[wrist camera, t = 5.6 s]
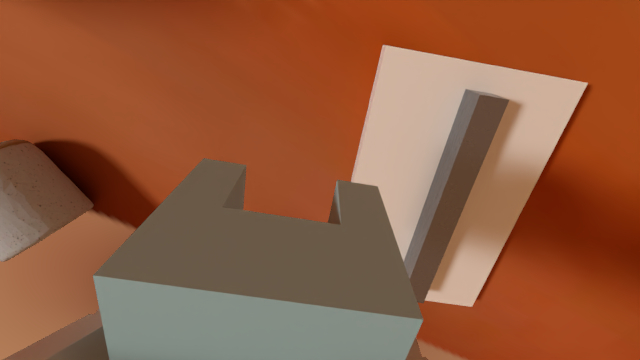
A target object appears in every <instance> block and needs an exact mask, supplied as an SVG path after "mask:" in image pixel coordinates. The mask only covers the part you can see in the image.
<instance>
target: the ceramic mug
mask: <svg viewBox="0 0 640 360" xmlns="http://www.w3.org/2000/svg"><path fill="white" fill-rule="evenodd" d="M93 206H94V204H93V203H92V202H91V201H90V200H89V199H88V198H87V197H86V196H85V195H84V194H83V193H82V192H81V191H80V189H79V188H78V187H77V186H76V185H75V184H74V183H73V182H72V181H71V180H70V179H69V178H68V177H67V176H66V175H65V174H64V173H63V172H62V171H61V170H60V169H59V168H58V167H57V166H56V165H55V164H54V163H53V162H52V161H51V160H50V159H49V158H48V157H47V156H46V155H45V154H44V153H43V152H42V151H41V150H40V149H39V148H37V147H36V146H35V145H33V144H32V143H30V142H28V141H25V140H17V139H16V140H9V141H4V142H1V143H0V261H7V260H9V259H11V258H13V257H15V256H16V255H18V254H19V253H21V252H23V251H25V250H26V249H28V248H30V247H31V246H33V245H35V244H37V243H39V242H40V241H42V240H43V239H45V238H46V237H48V236H49V235H50V234H52V233H54V232H56V231H57V230H59V229H60V228H62V227H64V226H65V225H66V224H68V223H70V222H71V221H73V220H74V219H76V218H77V217H79V216H80V215H82V214H83V213H85V212H86V211H88V210H90V209H91V208H92V207H93Z"/></svg>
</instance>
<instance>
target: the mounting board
mask: <svg viewBox="0 0 640 360" xmlns="http://www.w3.org/2000/svg"><path fill="white" fill-rule="evenodd" d="M587 84H588V83H585V82H580V81H574V80H569V79H564V78H558V77H553V76H548V75H542V74H537V73H532V72H526V71H521V70H515V69H510V68H505V67H499V66H494V65H489V64H483V63H478V62H473V61H467V60H462V59H457V58H451V57H446V56H441V55H435V54H430V53H425V52H419V51H414V50H409V49H403V48H398V47H392V46H387V45H383V46H382V50H381V55H380V59H379V63H378V68H377V72H376V76H375V80H374V85H373V89H372V93H371V97H370V102H369V106H368V110H367V115H366V119H365V123H364V127H363V132H362V136H361V140H360V144H359V149H358V153H357V157H356V161H355V166H354V170H353V174H352V179H351V182H354V183H361V184H367V185H373V186H378V189H379V192H380V195H381V198H382V201H383V203H384V206H385V209H386V212H387V215H388V218H389V221H390V224H391V227H392V230H393V233H394V236H395V239H396V241H397V244H398V247H399V250H400V253H401V256H402V259H403V262H404V259H405V256H406V254H407V251H408V248H409V245H410V242H411V240H412V237H413V234H414V231H415V229H416V226H417V223H418V220H419V217H420V215H421V212H422V209H423V206H424V203H425V201H426V198H427V195H428V192H429V189H430V187H431V184H432V181H433V178H434V176H435V173H436V170H437V167H438V164H439V162H440V159H441V156H442V153H443V150H444V148H445V145H446V142H447V139H448V137H449V134H450V131H451V128H452V125H453V123H454V120H455V117H456V114H457V111H458V109H459V106H460V103H461V100H462V97H463V95H464V92H465V89H469V90H475V91H480V92H486V93H491V94H495V95H497V96H500V97H503V98H506V99H509V102H508V105H507V107H506V109H505V112H504V114H503V116H502V119H501V121H500V123H499V126H498V128H497V131H496V133H495V135H494V138H493V140H492V142H491V145H490V147H489V149H488V152H487V154H486V157H485V159H484V161H483V164H482V166H481V168H480V171H479V173H478V175H477V178H476V180H475V183H474V185H473V187H472V190H471V192H470V194H469V197H468V199H467V201H466V204H465V206H464V208H463V211H462V213H461V216H460V218H459V220H458V223H457V225H456V227H455V230H454V232H453V234H452V237H451V239H450V242H449V244H448V246H447V249H446V251H445V253H444V256H443V258H442V260H441V263H440V265H439V268H438V270H437V272H436V275H435V277H434V279H433V282H432V284H431V286H430V289H429V291H428V294H427V296H426V298H425V300H427V301H434V302H441V303H448V304H455V305H463V306H470V307H472V306H473V304H474V302H475V300H476V298H477V296H478V294H479V293H480V291H481V289H482V287H483V285H484V283H485V281H486V279H487V277H488V275H489V273H490V271H491V269H492V267H493V266H494V264H495V262H496V260H497V258H498V256H499V254H500V252H501V250H502V248H503V246H504V244H505V242H506V240H507V239H508V237H509V235H510V233H511V231H512V229H513V227H514V225H515V223H516V221H517V219H518V217H519V215H520V213H521V211H522V210H523V208H524V206H525V204H526V202H527V200H528V198H529V196H530V194H531V192H532V190H533V188H534V186H535V184H536V183H537V181H538V179H539V177H540V175H541V173H542V171H543V169H544V167H545V165H546V163H547V161H548V159H549V157H550V156H551V154H552V152H553V150H554V148H555V146H556V144H557V142H558V140H559V138H560V136H561V134H562V132H563V130H564V128H565V127H566V125H567V123H568V121H569V119H570V117H571V115H572V113H573V111H574V109H575V107H576V105H577V103H578V101H579V100H580V98H581V96H582V94H583V92H584V90H585V88H586V86H587Z"/></svg>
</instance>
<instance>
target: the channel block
mask: <svg viewBox="0 0 640 360" xmlns="http://www.w3.org/2000/svg"><path fill="white" fill-rule="evenodd" d="M245 177H246V165H242V164H236V163H230V162H223V161H217V160H211V159H205V158H204V159H203V160H202V161H201V162H200V163H199V164H198V165H197V166H196V167H195V168H194V169H193V170H192V171H191V172H190V173H189V175H188V176H187V177H186V178H185V179H184V180H183V181H182V182H181V183H180V184H179V185H178V186H177V187H176V188H175V189H174V190H173V191H172V192H171V194H170V195H169V196H168V197H167V198H166V199H165V200H164V201H163V202H162V203H161V204H160V205H159V206H158V207H157V208H156V209H155V210H154V211H153V213H152V214H151V215H150V216H149V217H148V218H147V219H146V220H145V221H144V222H143V223H142V224H141V225H140V226H139V227H138V228H137V229H136V230H135V232H134V233H133V234H132V235H131V236H130V237H129V238H128V239H127V240H126V241H125V242H124V243H123V244H122V245H121V247H119V248H118V250H117V251H116V252H115V253H114V254H113V255H112V256H111V257H110V258H109V259H108V260H107V261H106V262H105V263H104V264H103V265H102V266H101V268H100V269H99V270H98V271H97V272H96V273H95V274H94V275H93V278H94V283H95V288H96V293H97V298H98V304H99V309H100V314H101V319H102V325H103V330H104V335H105V340H106V345H107V350H108V356H109V360H405V359H406V357H407V355H408V353H409V350H410V348H411V346H412V344H413V342H414V339H415V337H416V335H417V333H418V330H419V328H420V326H421V324H422V322H423V317H422V314H421V312H420V309H419V306H418V303H417V300H416V297H415V294H414V291H413V288H412V285H411V282H410V279H409V276H408V274H407V271H406V268H405V265H404V262H403V259H402V256H401V253H400V250H399V247H398V244H397V241H396V239H395V236H394V233H393V230H392V227H391V224H390V221H389V218H388V215H387V212H386V209H385V206H384V203H383V201H382V198H381V195H380V192H379V189H378V186H373V185H367V184H361V183H354V182H348V181H342V180H337V183H336V188H335V192H334V197H333V202H332V206H331V211H330V216H329V220H328V223H325V222H318V221H311V220H305V219H298V218H292V217H285V216H278V215H272V214H265V213H259V212H252V211H245V210H243V204H244V191H245Z"/></svg>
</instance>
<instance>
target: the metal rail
mask: <svg viewBox="0 0 640 360" xmlns="http://www.w3.org/2000/svg"><path fill="white" fill-rule="evenodd" d="M508 102H509V99H506V98H503V97H500V96H497V95H495V94H491V93H486V92H480V91H475V90H469V89H465V92H464V95H463V97H462V100H461V103H460V106H459V109H458V111H457V114H456V117H455V120H454V123H453V125H452V128H451V131H450V134H449V137H448V139H447V142H446V145H445V148H444V150H443V153H442V156H441V159H440V162H439V164H438V167H437V170H436V173H435V176H434V178H433V181H432V184H431V187H430V189H429V192H428V195H427V198H426V201H425V203H424V206H423V209H422V212H421V215H420V217H419V220H418V223H417V226H416V229H415V231H414V234H413V237H412V240H411V242H410V245H409V248H408V251H407V254H406V256H405V259H404V265H405V268H406V271H407V274H408V276H409V279H410V282H411V285H412V288H413V291H414V294H415V297H416V300H417V302H420V303H424V301H425V298H426V296H427V294H428V291H429V289H430V286H431V284H432V282H433V279H434V277H435V275H436V272H437V270H438V268H439V265H440V263H441V260H442V258H443V256H444V253H445V251H446V249H447V246H448V244H449V242H450V239H451V237H452V234H453V232H454V230H455V227H456V225H457V223H458V220H459V218H460V216H461V213H462V211H463V208H464V206H465V204H466V201H467V199H468V197H469V194H470V192H471V190H472V187H473V185H474V183H475V180H476V178H477V175H478V173H479V171H480V168H481V166H482V164H483V161H484V159H485V157H486V154H487V152H488V149H489V147H490V145H491V142H492V140H493V138H494V135H495V133H496V131H497V128H498V126H499V123H500V121H501V119H502V116H503V114H504V112H505V109H506V107H507V105H508Z"/></svg>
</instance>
